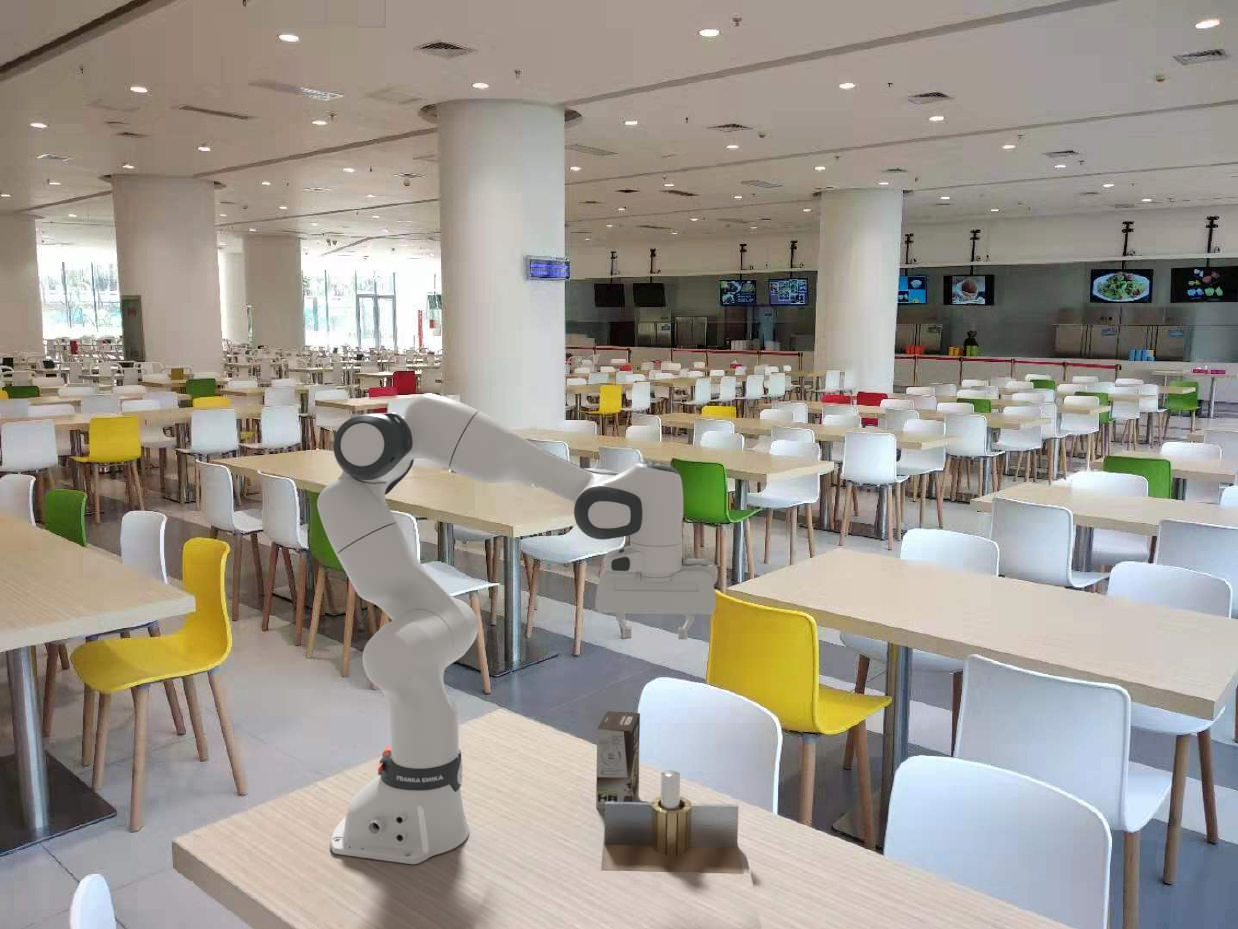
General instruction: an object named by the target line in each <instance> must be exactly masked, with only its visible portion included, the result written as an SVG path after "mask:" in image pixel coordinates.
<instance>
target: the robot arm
mask: <svg viewBox="0 0 1238 929" xmlns="http://www.w3.org/2000/svg"><path fill="white" fill-rule="evenodd" d="M334 435H335V436H334V439H333V445H332V447H333V454H334V458H335V460H336V462H337V464H338V465H339V467H340V468H341V470H342V473H341V475H340V476H339V477H338V478H337V479H335V480H333V481H332V482H330V483H329V484H327V485H325V487H324V488H323V489H322V490H321V492H320V493H319V495H318V498H317V501H316V508H317V511H318V515H319V518H320V521H321V524H322V527H323V530H324V531H325V534H326V537H327V539H328V542H329V543H330V545H331V548H332V550H333V551H334V554H335V555H336V557H337V559H338V561H339V563H340V565H341V567H342V568H343V570H344V572H345V574H346V576H347V577H348V579H349V581H350V583H351V585H352V586H353V589H354V591H355V592H356V593H357V595H358V596H359V597H360V598H361V599H363V600H364V601H366V602H369V603H372V604H374V605H376V606H377V607H379V609H380V610H382V611H383V612H384V613H385V614H386V615H387V617H389V619H390V620H391V621H388V622H386V623H385V624H384V625H383V626H382V627H381V628H379V629H378V630H377V631H376V632H375V633H374V634H373V635H372V636H371V638H370V639H369V640H368V641H367V642H366V644H365V645H364V648H363V651H362V652H363V653H362V664H363V665H362V666H363V669H364V672H365V674H366V677H367V678H368V679H369V680H370V682H371V683H372V684H373V685H374V686H376V687H377V688H379V689H380V690H381V691H382V693H383V696H384V698H385V701H386V704H387V709H388V712H389V723H390V724H389V725H390V745H387V746H386V747H385V749H384V750H383V752H382V757H381V759H380V760H379V765H378V767H377V774H378V776H377V777H376V778H374V779H373V780H371V781H370V782H369V783H367V784H366V785H363V787H362V788H361V789H360V790H358V791H357V792H356V793H355V795H354V796H353V797H352V799H351V801H350V803H349V805H348V808H347V811H346V815H345V816H344V817H343V818H342V819H341V820H340V821H339V823H338V824H337V825H336V826H335V828H334V830H333V832H332V834H331V837H330V849H331V852H332V853H333V854H337V855H341V856H347V857H348V856H349V857H357V858H362V859H363V858H364V859H372V860H377V861H378V860H379V861H386V862H394V863H400V864H408V865H418V864H420V863H423V862H424V861H426V860H428V859H430V858H431V857H433V856H437V855H440V854H443V853H446V852H449V851H451V850H453V849H456V848H457V847H458V846H459V847H460V845H461V844H463V843H464V842H465V841H466V840H467V839H468V837H469V834H470V826H469V824H468V822H467V818H466V813H465V809H464V805H463V804H464V803H463V796H462V789H461V786H462V782H463V761H462V752H461V749H460V746H459V745H460V744H459V709H458V706H457V704H456V703H455V702H454V701H453V700H452V699H451V698H450V697H449V696H448V693H447V690H446V686H445V683H444V674H445V671H446V668H447V667H449V666H450V665H452V664H453V663H455V662H456V661H458V660H460V659H461V658H462V657H464V656H465V654H466V653H467V651H469V649H470V648H471V646H472V645H473V643H474V642H475V640H476V639H477V637H478V631H479V622H478V617H477V615H476V613H475V612H474V610H473V609H472V607H471V606H470V605H469V604H468V603H466V602H465V601H463V600H461V599H459V598H457V597H454V596H453V595H451V594H450V593H449V592H448V591H446V590H445V588H443V587H442V586H441V584H439V583H438V582H437V581H436V579H435V578H434V577H433V576H432V575H431V574H430V572H428V571H427V570H426V568H425V567H424V566H423V564H422V563H421V561H420V560H419V559H418V557H417V556H416V553H415V552H414V550H413V549H412V547H411V545H410V543H409V542H408V540H407V538H406V536H405V534H404V532H403V531H402V529H401V527H400V526H399V524H398V522H397V520H396V518H395V517H394V515H393V513H392V512H391V509H390V507H389V505H388V503H387V500H386V499H387V498H386V495H387V494H389V493H390V492H391V491H392V490H393V489H394V488H395V487H396V486H398V483H400V481H402V480H403V479H404V478H405V477H406V476H407V475H408V473H409V472H410V471H411V469H412V467H413V464H414V461H415V460H417V459H426V460H430V461H432V462H434V463H437V464H439V465H441V466H442V467H444V468H447V469H449V470H451V471H453V472H455V473H457V474H458V475H461V476H463V477H466V478H467V479H468V478H469V479H472V480H475V481H479V482H483V483H486V484H496V483H506V482H519V483H525V484H530V485H532V486H535V487H537V488H540V489H543V490H545V491H547V492H549V493H550V494H554V495H556V496H557V497H559V498H561V499H564V500H566V501H568V502H571V503H572V504H573V505H574V506H573V507H574V508H573V515H574V520H575V522H576V525H577V527H578V528H579V530H580V531H581V532H582V533H583V534H585V535H586V536H588V537H590V538H592V539H595V540H602V541H603V540H610V539H618V538H624V537H628V536H629V545H627V546H624V547H620V548H617V549H616V548H615V549H614V550H610V551H608V552H607V553H606V554H605V555H604V558H603V569H602V570H601V572H600V574H599V578H598V581H597V582H598V583H597V588H596V596H595V608H596V610H597V611H598V612H599V613H603V614H605V613H606V614H609V613H610V614H611V613H612V614H615V615H616V621H617V623H618V624H619V626H620V627H621V629H622V639H632V625H627V624H626V621H625V618H626V617H625V616H626V614H648V615H649V614H654V615H655V614H656V615H657V614H658V615H659V614H660V615H663V614H664V615H684V616H685V620H686V621H685V622H684V624H683V625H682V626H678V627H677V628H678V634H677V635H678V640H688V630H689V629H690V628H691V626H692V624H693V623H694V621H695V615H712V614H713V613H714V612H715V611H716V595H715V586H714V585H715V584H716V583H718V582H717V581H718V578H719V571H718V570H719V569H718V566H717V564H715V563H714V562H713V561H710V560H709V558H701V559H696V558H686V557H683V551H684V550H683V548H684V546H683V544H684V542H683V541H684V540H683V535H682V531H681V528H682V527H681V526H682V521H683V519H684V488H683V482H682V478H681V475H680V473H679V472H678V471H677V470H676V468H674V467H672V466H671V465H669V464H666V463H661V462H657V461H652V460H650V461H649V460H640V461H637V462H636V463H635V464H633V465H632V466H630V467H629V468H627V469H625V470H623V471H622V472H619V473H617V472H613V471H594V470H589V469H586V468H583V467H581V466H579V465H577V464H574V463H572V462H570V461H568V460H566V459H564V458H561V457H560V456H558V455H555V454H552V453H551V452H549V451H546V450H545V449H542V448H540V447H538V446H537V445H535V444H534V443H533V442H531V441H529V440H528V439H526V438H525V437H524V436H522V435H520V434H519V433H518V432H516V431H514V430H513V429H511V428H510V427H508V425H505V424H504V423H503V422H501V421H499V420H497V419H496V418H494V417H493V416H491V415H489V414H487V413H485V412H483V411H480V410H479V409H478V408H477V409H476V408H475V407H473V406H470V405H468V404H466V403H463V402H462V401H461V402H460V401H457V400H455V399H453V398H450V397H447V396H442V395H440V394H435V393H431V392H428V393H423V394H420V395H418V396H417V397H414V399H413V400H411V401H410V403H409V404H408V405H407V407H406V408H405V409H404V411H403V413H402V414H401V415H400V414H398V413H396V412H383V413H382V412H379V413H376V412H375V413H364V414H360V415H354V416H352V417H351V418H349V419H347V420H346V421H344V422H343V423H342V424H341V425H340V426H339V428H338V429H337V431H336V432H335V434H334Z"/></svg>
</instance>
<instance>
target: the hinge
mask: <svg viewBox="0 0 1238 929" xmlns="http://www.w3.org/2000/svg"><path fill="white" fill-rule="evenodd" d="M604 831H605V841H604V840H603V841H604V845H643V846H651V847H652V848H653V849H654V850H655V851H656V852H658V853H661V854H664V855H666V854H667V855H680V854H683V853H685V852H687V851H688V850H689V849H690V848H691V847H727V848H737V842H738V836H739V835H738V834H739V832H738V831H739V804H735V803H733V804H727V803H726V804H725V803H692V802H691V801H690V800H689V799H687V798H686V797H684V796H680V808H679V810H676V811H668V810H665V809H662V808H661V795H660V796H656V797H654V799H652V800H651V802H649V801H647V802H643V801H640V802H639V801H634V802H607V801H605V809H604Z"/></svg>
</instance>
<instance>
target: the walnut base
mask: <svg viewBox="0 0 1238 929" xmlns="http://www.w3.org/2000/svg"><path fill="white" fill-rule="evenodd" d="M604 841H605V830H604V831H603V843H602V856H601V867H600V869H601V870H600V871H626V872H628V871H629V872H663V873H665V872H666V873H671V872H672V873H703V874H704V873H706V874H708V873H709V874H742V875H743V874H744V869H743V863H742V859H741V854H740V848H739V844H738V841H737V848H727V847H691V848H690V849H689V850H688V851H687V852H685V853H683V854H680V855H667V854H666V855H664V854H661V853H658V852H656V851H655V850H654V849H653V848H652V847H651V846H643V845H604Z"/></svg>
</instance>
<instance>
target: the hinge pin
mask: <svg viewBox="0 0 1238 929" xmlns="http://www.w3.org/2000/svg"><path fill="white" fill-rule="evenodd" d="M660 774H661V778H660V780H661V781H660V784H661V785H660V787H661V788H660V792H661V793H660V796H661V808H662V809H665V810H668V811H676V810H679V808H680V795H681V792H680V791H681V788H680V785H681V774H680V772H678V771H676V770H664V771H662V772H661V773H660Z"/></svg>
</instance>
